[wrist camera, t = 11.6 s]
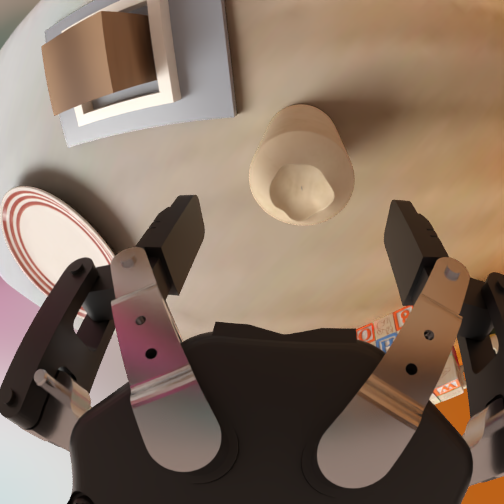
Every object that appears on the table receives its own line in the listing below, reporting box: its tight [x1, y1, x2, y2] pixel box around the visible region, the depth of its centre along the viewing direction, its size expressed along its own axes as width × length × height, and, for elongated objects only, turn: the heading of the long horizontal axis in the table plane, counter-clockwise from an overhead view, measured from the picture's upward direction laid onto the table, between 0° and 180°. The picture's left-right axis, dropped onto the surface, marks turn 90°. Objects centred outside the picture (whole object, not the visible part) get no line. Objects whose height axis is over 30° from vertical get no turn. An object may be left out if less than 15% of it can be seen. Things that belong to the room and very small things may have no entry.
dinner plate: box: [0, 186, 115, 319], centre depth 34 cm, size 27×27×3 cm
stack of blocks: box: [356, 306, 464, 404], centre depth 30 cm, size 21×6×12 cm, turn 135°
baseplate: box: [45, 0, 237, 148], centre depth 16 cm, size 18×14×2 cm
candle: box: [249, 104, 355, 225], centre depth 16 cm, size 6×6×10 cm
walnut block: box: [42, 11, 157, 116], centre depth 14 cm, size 6×6×6 cm
